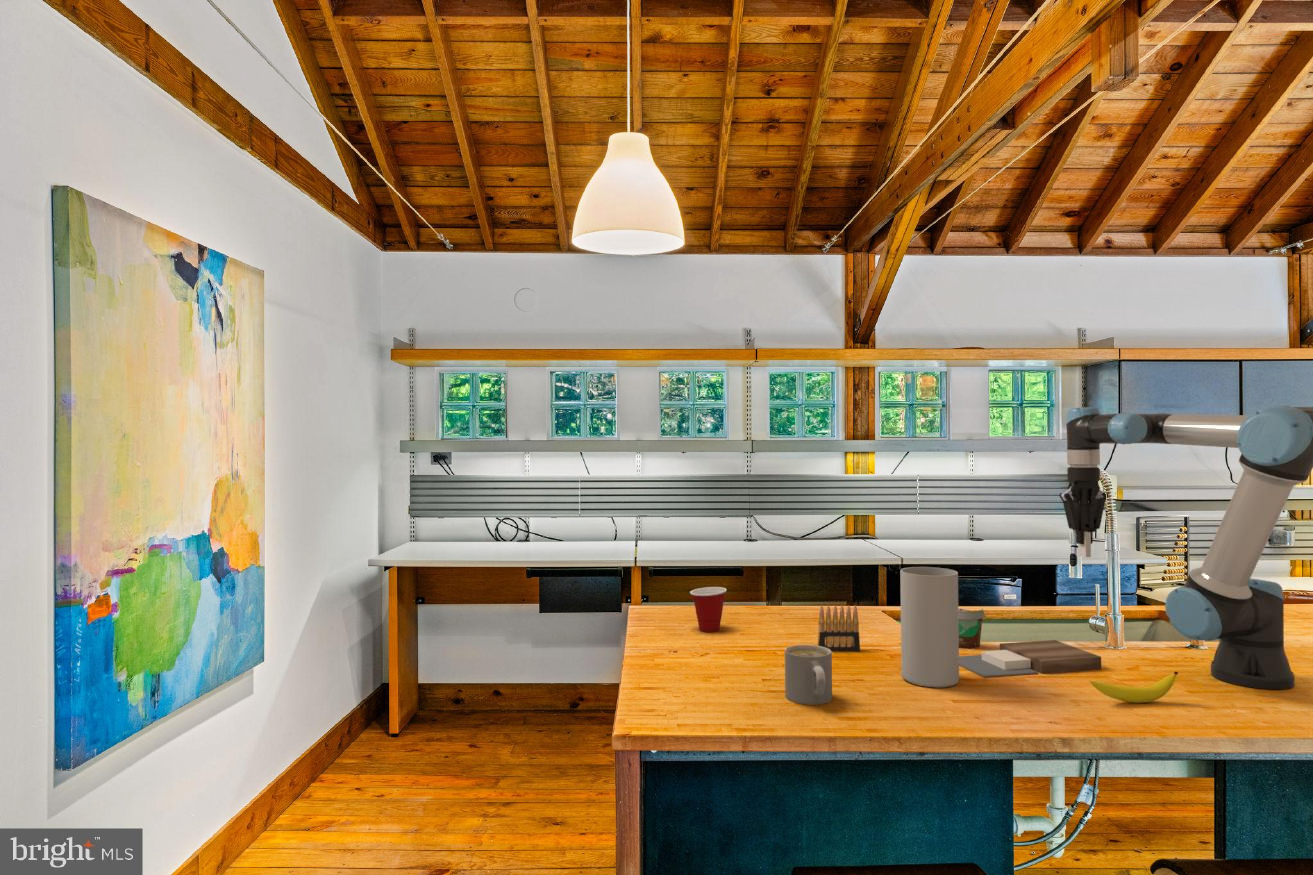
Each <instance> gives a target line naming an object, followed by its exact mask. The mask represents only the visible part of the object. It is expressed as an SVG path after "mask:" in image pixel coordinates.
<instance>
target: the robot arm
mask: <svg viewBox="0 0 1313 875" xmlns="http://www.w3.org/2000/svg"><path fill="white" fill-rule="evenodd" d="M1065 426H1066V442H1067V443H1066V446H1067V447H1066V458H1067V459H1066V461H1067V462H1066V463H1067V464H1066V465H1068V468H1066V469H1067V471H1066V472H1067V477H1066V478H1067V481H1068V485H1067V490H1065V492H1060V493H1059V498H1060V499H1061V502H1062V504H1063V509H1064V512H1065V517H1066V521H1067V527H1068V528H1069V529H1071V530H1072V531H1074V532H1075V536H1076V537H1075V542H1076V544H1077V545H1078V546H1077V548H1078V549H1077V550H1078V554H1077V555H1078V557H1082V558H1083V557H1084V558H1091V557H1092V550H1091V548H1092V546H1091V545H1093V542H1094V541H1093V540H1094V538H1093V536H1094V535H1093V533H1095V532H1096V531H1097V530H1099V529H1100V528H1101V524H1102V518H1103V513H1104V508H1105V502H1106V501H1107V499H1106V494H1105V493H1106V492H1104V491H1103V490H1101V487H1100V485H1099V482H1100V480H1101V468H1100V467H1099V466H1100V465H1101V455H1100V454H1101V452H1100V450H1101V448H1100V447H1101V446H1100V445H1102V444H1109V445H1110V444H1115V445H1116V444H1117V445H1119V444H1120V445H1132V444H1161V445H1162V444H1163V445H1181V446H1184V445H1185V446H1198V447H1199V446H1201V447H1216V448H1217V447H1218V448H1233V449H1238V451H1239V452H1240V453H1241V454H1240V456H1239V458H1238V463H1239V464H1240V466H1241V467H1242V470H1243V472H1242V474H1241V476H1240V479H1239V480H1238V482H1237V486H1236V487H1235V490H1234V492H1233V495H1232V497H1231V499H1230V501H1229V503H1228V506H1227V508H1226V511H1225V513H1224V515H1223V517H1222V520H1221V522H1220V524H1219V526H1218V529H1217V531H1216V533H1215V535H1214V537H1213V540H1212V542H1211V545H1210V547H1209V549H1208V552H1207V554H1206V556H1205V557H1204V561H1203V562H1202V565H1201V567H1197V568H1193V569H1191V570H1190V572H1189V573H1188V576H1187V578H1186V580H1185V583H1184V585H1183V586H1180V587H1177V588H1174V589H1173V590H1172V591H1169V593H1168V594H1167V596H1166V599H1165V606H1164V607H1165V612H1166V616H1167V617H1168V619H1169V622H1170V624H1171V626H1172V627H1173V628H1174V630H1176V631H1177V632H1178V633H1179V634H1181V635H1182V636H1183V637H1185V638H1187V639H1189V640H1194V641H1205V642H1206V641H1207V642H1210V641H1215V640H1219V642H1218V645H1217V648H1216V650H1215V653H1214V657H1213V660H1212V661H1211V663H1210V675H1211V676H1212V677H1214V678H1215V679H1218V680H1220V681H1223V682H1226V683H1230V684H1234V685H1237V686H1243V687H1248V688H1254V689H1263V690H1264V689H1265V690H1289V689H1292V688H1294V687H1295V684H1296V681H1295V674H1294V672H1293V671H1292V669H1291V666H1290V663H1289V660H1288V657H1287V654H1286V651H1285V645H1284V644H1285V643H1284V642H1285V640H1284V639H1285V638H1284V636H1285V635H1284V634H1285V632H1284V631H1285V630H1284V628H1285V627H1284V625H1285V624H1284V623H1285V622H1284V619H1285V618H1284V603H1285V598H1284V594H1283V593H1284V592H1283V591H1284V589H1283V587H1282V586H1281V584H1279V583H1278V582H1275V581H1271V580H1264V579H1258V578H1251V577H1252V575H1253V573H1254V571H1255V569H1256V567H1257V565H1258V563H1259V560H1260V558H1261V556H1262V554H1263V551H1264V550H1265V548H1266V546H1267V543H1268V541H1269V539H1270V537H1271V535H1272V534H1273V530H1274V529H1275V526H1276V525H1277V522H1278V520H1279V518H1280V516H1281V513H1282V512H1283V510H1284V508H1285V505H1286V503H1287V501H1288V499H1289V497H1290V495H1291V493H1292V490H1293V488H1294V486H1296V485H1299V484H1302V483H1306V481H1308V478H1309V476H1310V475H1311V472H1312V470H1313V406H1289V405H1280V406H1278V405H1277V406H1273V407H1265V408H1262V409H1259V410H1257V411H1254V412H1253V413H1251V414H1250V415H1246V414H1245V415H1244V414H1243V415H1239V414H1238V415H1237V414H1236V415H1235V414H1190V413H1188V414H1186V413H1185V414H1182V413H1180V414H1179V413H1175V414H1173V413H1172V414H1171V413H1133V412H1120V413H1106V414H1105V413H1104V414H1100V409H1099V408H1098V407H1095V406H1093V407H1091V406H1090V407H1087V406H1086V407H1071V408H1069V409H1067V413H1066V423H1065ZM1099 476H1100V478H1099ZM1108 497H1109V493H1108V494H1107V498H1108Z"/></svg>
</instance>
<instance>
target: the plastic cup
mask: <svg viewBox="0 0 1313 875" xmlns="http://www.w3.org/2000/svg"><path fill="white" fill-rule="evenodd" d="M726 592H727V588H725V587H722V586H707V587H701V588H700V587H699V588H695V589H693V590H691V591H689V594H690V595H691V597H692V601H693V602H694V608H695V614H696V618H697V619H696V620H697V624H698V628H699V631H700V632H703V633H715V632H716V633H717V632H719V630H720V628H721V622H722V618H723V617H722V615H723V610H724V601H725V597H726Z"/></svg>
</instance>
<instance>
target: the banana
mask: <svg viewBox="0 0 1313 875" xmlns="http://www.w3.org/2000/svg"><path fill="white" fill-rule="evenodd" d="M1178 674H1179V671H1174V673H1172V674H1169V675H1167V676H1165V677H1163V678H1161V679H1160V680H1159V681H1157V682H1156V683H1153V684H1151V685H1149V686H1141V687H1140V686H1135V687H1134V686H1122V685H1116V684H1112V683H1107V682H1103V681H1098V680H1089V683H1090V684H1091V685H1092V687H1093V688H1094V689H1096V690H1097V691H1098V692H1100V693H1101V694H1103V695H1104V696H1106V697H1109V698H1111V699H1114V700H1118V701H1123V702H1128V703H1132V704H1135V703H1136V704H1141V703H1143V704H1144V703H1150V702H1155V701H1157V700H1159V699H1161V698H1162V697H1164V696H1165V695H1166V694H1167V693H1168V692H1169V691H1170V690H1171V688H1172V686H1173V684H1174V683H1175V680H1176V676H1177V675H1178Z"/></svg>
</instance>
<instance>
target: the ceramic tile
mask: <svg viewBox="0 0 1313 875" xmlns="http://www.w3.org/2000/svg"><path fill="white" fill-rule="evenodd" d="M981 655H982V660H984V661H986V662H988V663H991V664H993V665H995V666H997V667H1000V668H1002V669H1004V670H1010V669H1023V668H1029V669H1030V668H1031V659H1028V658H1026V657H1023V656H1021V655H1018V654H1016V653H1013V652H1011V651H1008V650H1000V649H998V650H985V651H984V650H983V651H981Z"/></svg>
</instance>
